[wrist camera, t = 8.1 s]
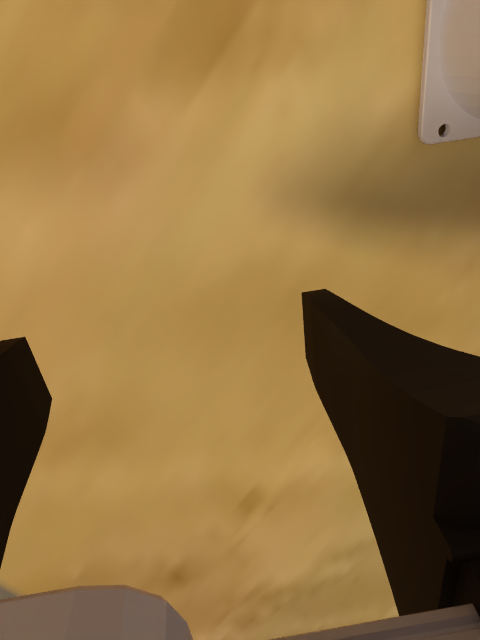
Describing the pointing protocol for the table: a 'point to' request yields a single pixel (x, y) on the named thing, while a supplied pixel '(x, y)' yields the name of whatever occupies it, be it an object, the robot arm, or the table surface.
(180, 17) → the table surface
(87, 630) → the robot arm
